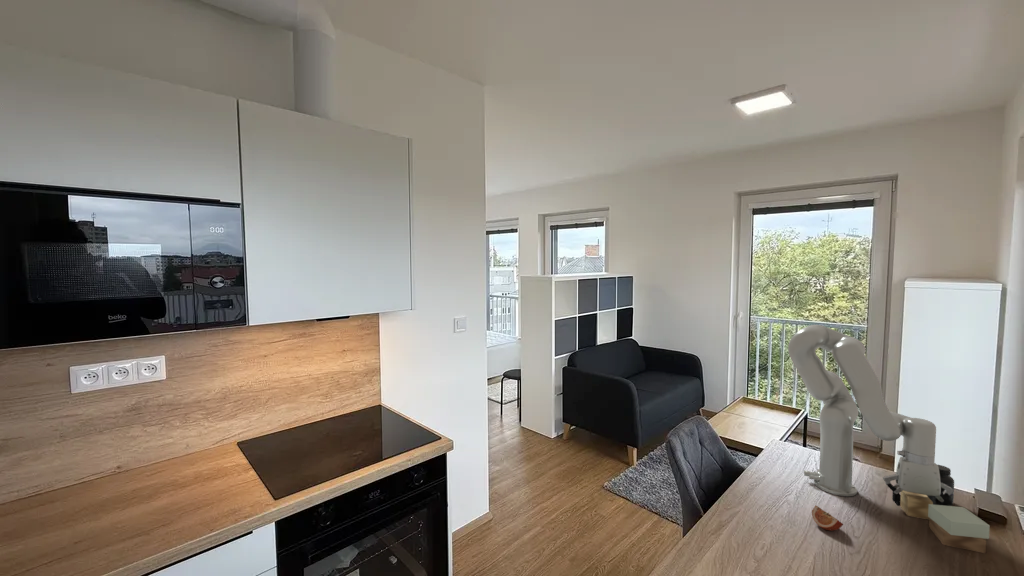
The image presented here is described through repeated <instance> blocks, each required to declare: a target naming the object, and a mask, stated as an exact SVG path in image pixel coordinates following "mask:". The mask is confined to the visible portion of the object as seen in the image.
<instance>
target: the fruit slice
mask: <svg viewBox="0 0 1024 576" xmlns="http://www.w3.org/2000/svg"><path fill="white" fill-rule="evenodd" d="M811 515H812V519H813V520H814V522H815V524H816V525H818V527H820V528H821V529H823V530H825V531H831V532H833V531H837V530H839V529H840V528H842V527H843V525H844V524H843V522H841V521H840V520H838V519H837V518H836V517H835V516H833V515H831V514H830V513H829V512H827V511H825V510H823V509H822V507H820V506H817V505H815V506H814V507H813V509H812V510H811Z"/></svg>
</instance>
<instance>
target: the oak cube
mask: <svg viewBox="0 0 1024 576" xmlns="http://www.w3.org/2000/svg"><path fill="white" fill-rule="evenodd" d="M900 495H901V500H900V506H899V507H901V509H902V510H903V512H904V513H905V514H906V516H907V517H908V516H909V517H912V518H918V519H919V518H920V519H923V520H928V521H929V517H928V507H929V504H933V502H932V501H931V500H930V499H929V498H928V496H927V495H923V494H917V493H912V492H907V491H904V490H903V491H901V492H900Z"/></svg>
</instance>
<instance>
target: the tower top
mask: <svg viewBox="0 0 1024 576" xmlns="http://www.w3.org/2000/svg"><path fill="white" fill-rule="evenodd" d="M928 517H929V518H931V519H932V520H933V521H934V522H936V523H937V524H938V525H939V526H941V527H942V528H943V529H944V530H945V531H947V532H948V533H949V534H950V535H957V536H966V537H976V538H984V539H985V540H989V539H990V526H991V525H990V524H988V523H987V522H986V521H984V520H982V518H980V517H979V516H977V515H975V514H974V513H972V512H971V511H970V510H968V509H967V508H966V507H962V506H954V505H951V506H944V505H933V504H929V507H928Z"/></svg>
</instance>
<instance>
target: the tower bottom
mask: <svg viewBox="0 0 1024 576" xmlns="http://www.w3.org/2000/svg"><path fill="white" fill-rule="evenodd" d="M928 521H929V522H928V527H929V529H930V530H931V532H932V533H933V534H934V536H935V537H936V538H937V539H938V540H939V542H940V543H941V544H942V545H944V546H948V547H952V548H958V549H961V550H962V549H963V550H968V551H972V552H977V553H982V554H986V550H987V549H986V548H987V539H985V538H976V537H966V536H957V535H950V534H949V533H948V532H947V531H945V530H944V529H943V528H942V527H941V526H939V525H938V524H937V523H936V522H934V521H933V520H932V519H931V518H929V520H928Z"/></svg>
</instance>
